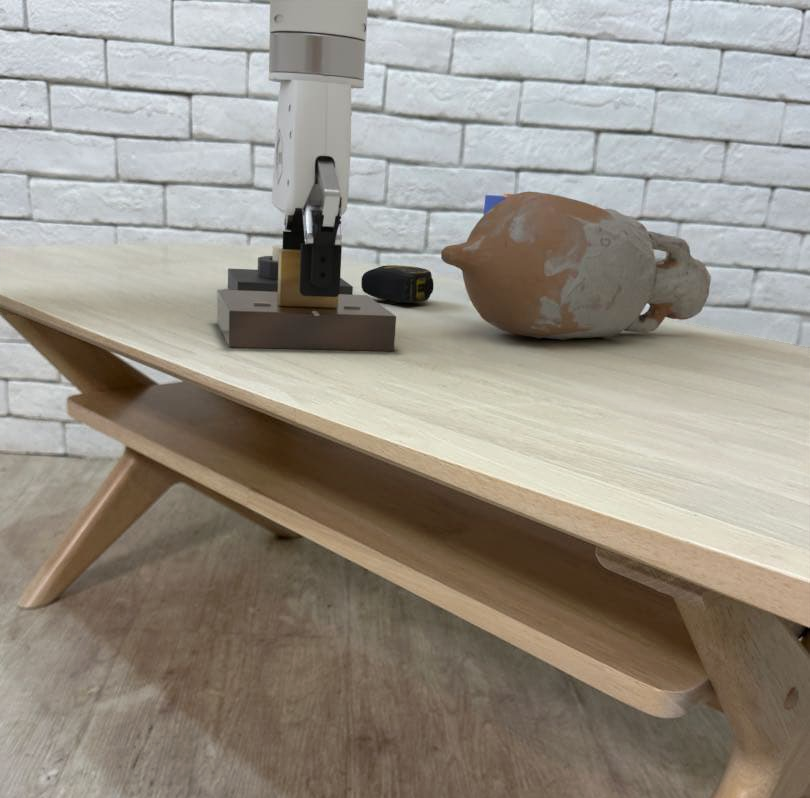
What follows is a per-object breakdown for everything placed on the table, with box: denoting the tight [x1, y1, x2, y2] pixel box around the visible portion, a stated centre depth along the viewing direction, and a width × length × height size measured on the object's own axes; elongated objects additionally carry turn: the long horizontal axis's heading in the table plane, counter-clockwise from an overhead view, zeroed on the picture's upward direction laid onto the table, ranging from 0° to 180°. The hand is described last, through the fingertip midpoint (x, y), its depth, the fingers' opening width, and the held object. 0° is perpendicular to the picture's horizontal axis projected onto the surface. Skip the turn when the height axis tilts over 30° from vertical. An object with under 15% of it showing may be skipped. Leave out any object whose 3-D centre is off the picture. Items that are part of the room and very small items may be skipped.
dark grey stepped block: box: [227, 255, 354, 295], centre depth 107 cm, size 12×10×4 cm
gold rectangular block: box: [277, 249, 339, 308], centre depth 84 cm, size 5×2×5 cm, turn 105°
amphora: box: [440, 191, 712, 341], centre depth 96 cm, size 14×16×30 cm
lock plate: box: [216, 289, 397, 352], centre depth 87 cm, size 14×12×3 cm
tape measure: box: [360, 264, 434, 305], centre depth 110 cm, size 7×7×4 cm
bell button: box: [271, 244, 283, 261], centre depth 106 cm, size 4×4×2 cm
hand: (309, 286), depth 85 cm, fingers open, 9 cm apart
